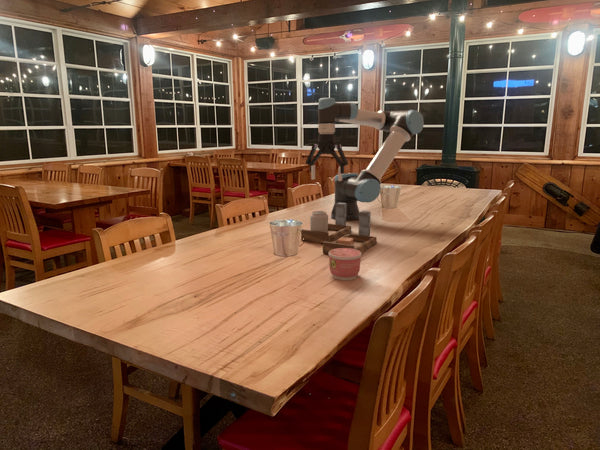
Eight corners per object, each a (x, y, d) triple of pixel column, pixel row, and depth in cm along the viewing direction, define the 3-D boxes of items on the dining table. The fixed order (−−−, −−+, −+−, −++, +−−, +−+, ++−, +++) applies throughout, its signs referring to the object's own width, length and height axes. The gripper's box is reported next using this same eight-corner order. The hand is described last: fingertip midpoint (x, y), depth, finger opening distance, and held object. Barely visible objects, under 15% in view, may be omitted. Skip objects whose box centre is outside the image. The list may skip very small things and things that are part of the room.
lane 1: (330, 226, 208) (330, 201, 206) (354, 229, 202) (355, 204, 199) (301, 239, 185) (301, 212, 182) (327, 243, 179) (327, 214, 176)
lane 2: (352, 236, 189) (353, 209, 186) (379, 240, 183) (380, 212, 180) (322, 253, 166) (323, 222, 163) (352, 257, 159) (353, 226, 157)
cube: (340, 249, 172) (341, 237, 170) (353, 250, 170) (353, 238, 169) (337, 252, 167) (337, 240, 166) (350, 254, 165) (350, 241, 164)
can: (327, 242, 182) (327, 213, 179) (309, 241, 183) (309, 213, 180) (328, 237, 189) (328, 210, 186) (311, 237, 190) (311, 210, 187)
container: (327, 270, 147) (328, 247, 145) (359, 270, 146) (359, 247, 144) (328, 281, 136) (329, 257, 135) (362, 281, 136) (363, 257, 134)
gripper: (298, 133, 200) (298, 179, 205) (349, 133, 189) (349, 182, 194) (305, 133, 206) (305, 177, 211) (355, 133, 195) (354, 180, 200)
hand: (326, 180), depth 203 cm, fingers open, 13 cm apart
